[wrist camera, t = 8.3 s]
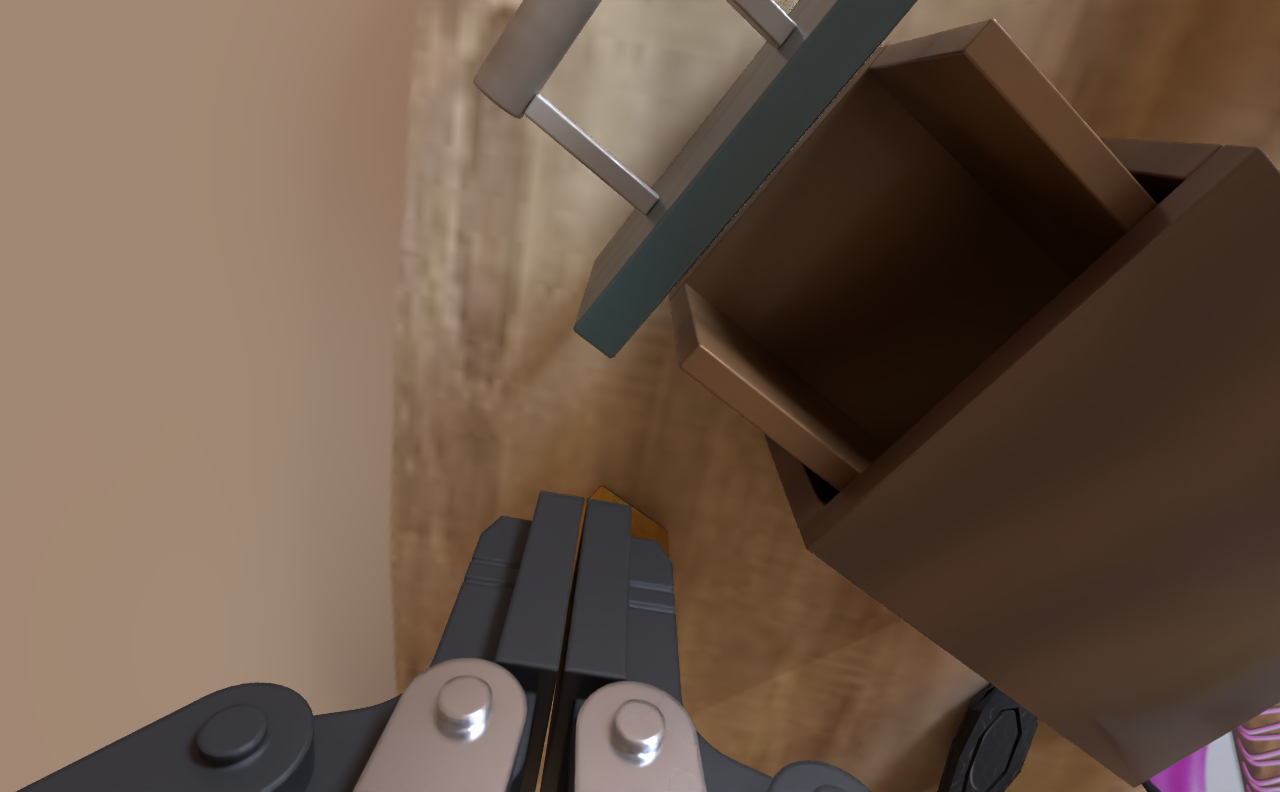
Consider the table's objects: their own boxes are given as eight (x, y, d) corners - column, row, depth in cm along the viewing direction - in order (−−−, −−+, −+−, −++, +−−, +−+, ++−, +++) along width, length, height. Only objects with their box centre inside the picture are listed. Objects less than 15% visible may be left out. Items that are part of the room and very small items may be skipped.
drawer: (460, 156, 20) (369, 179, 14) (690, -195, 17) (722, -400, 10) (861, 474, 25) (942, 609, 18) (1107, 251, 21) (1321, 317, 15)
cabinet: (750, 398, 25) (805, 549, 16) (1010, 130, 21) (1262, 145, 12) (987, 586, 28) (1134, 789, 20) (1247, 387, 24) (1568, 535, 16)
